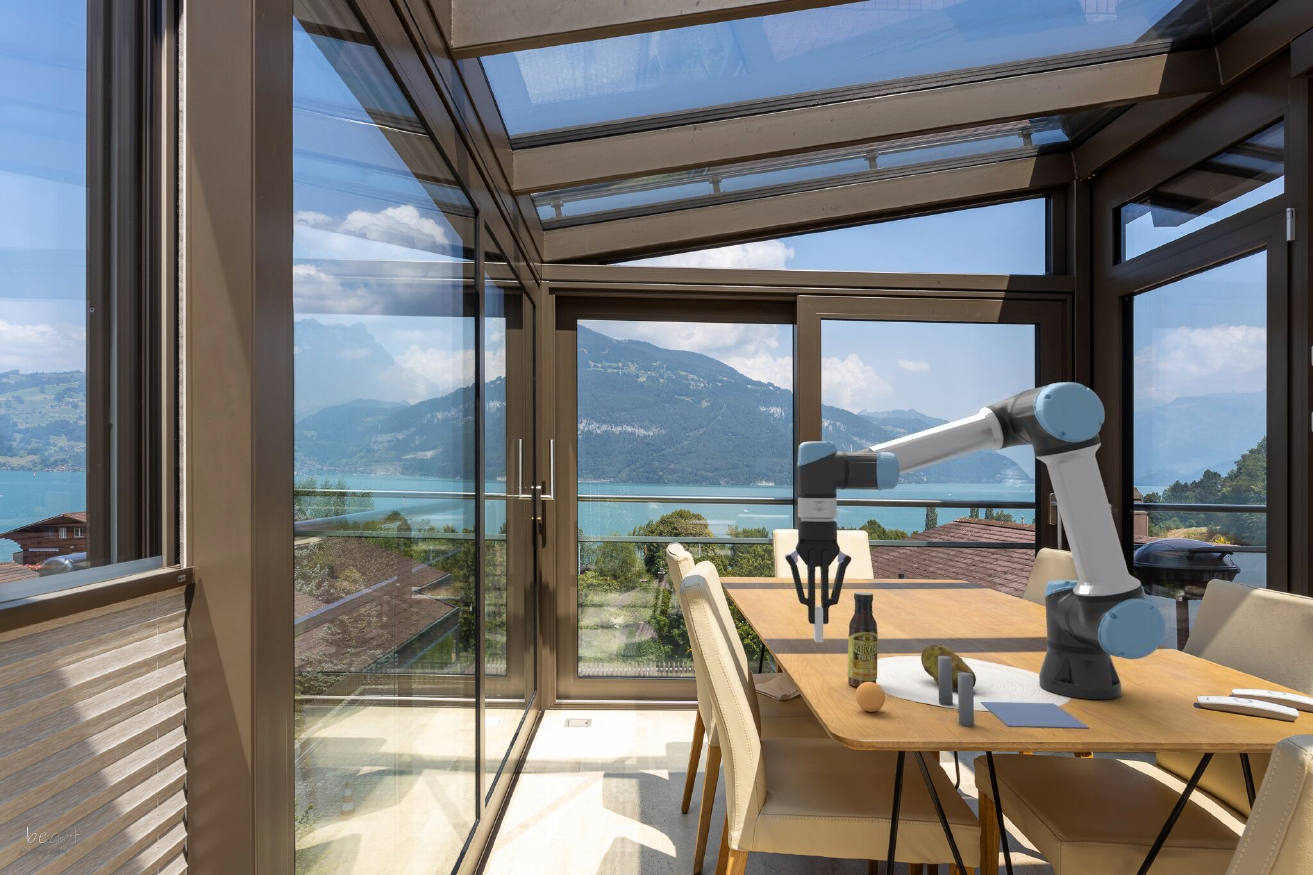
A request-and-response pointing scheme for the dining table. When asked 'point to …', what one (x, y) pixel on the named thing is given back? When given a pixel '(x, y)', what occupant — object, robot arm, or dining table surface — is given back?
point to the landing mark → (1033, 715)
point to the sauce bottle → (862, 642)
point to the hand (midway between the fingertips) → (818, 640)
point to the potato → (931, 663)
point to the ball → (870, 696)
